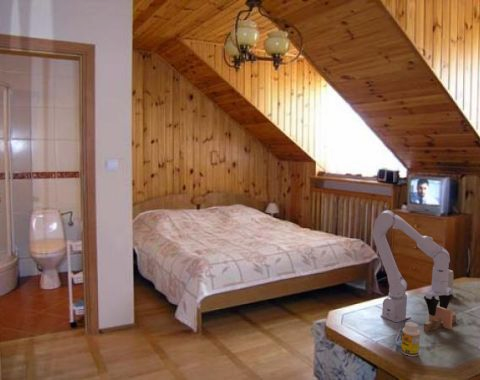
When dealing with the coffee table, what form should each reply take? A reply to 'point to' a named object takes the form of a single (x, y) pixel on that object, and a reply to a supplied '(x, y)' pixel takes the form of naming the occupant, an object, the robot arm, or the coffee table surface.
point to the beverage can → (450, 280)
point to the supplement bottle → (410, 339)
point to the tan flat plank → (443, 316)
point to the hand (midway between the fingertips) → (437, 313)
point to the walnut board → (436, 324)
